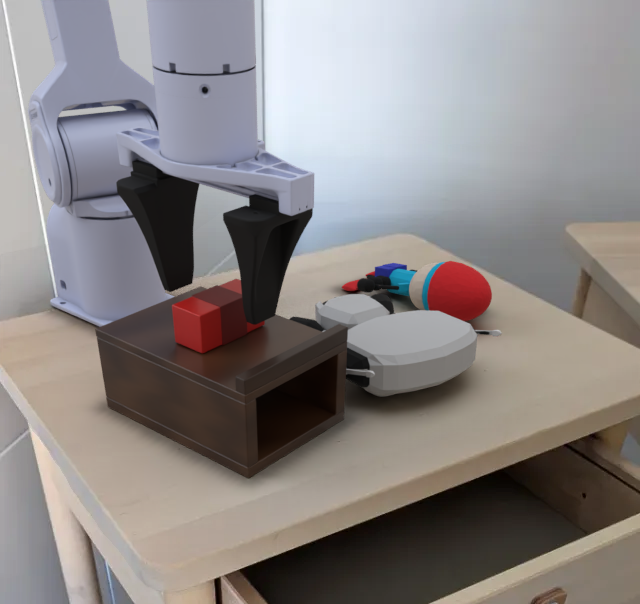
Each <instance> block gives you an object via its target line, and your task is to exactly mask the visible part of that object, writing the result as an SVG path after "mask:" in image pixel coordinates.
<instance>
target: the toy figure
mask: <svg viewBox="0 0 640 604" xmlns="http://www.w3.org/2000/svg"><path fill="white" fill-rule="evenodd" d="M364 276H365V277H366V278H365V277H362V278H359V279H354V280H351V281H347V282H346V283H344V284H343V285H342V286H341V289H343V290H344V291H347V292H355V291H358V290H359V291H360V292H364V293H368V294H369V293H372V292H374V291H376V292H377V291H381V290H385V291H388V293H390V294H396V295H400V296H406V297H409V298H410V300H411V303H412V304H413V305H414V307H415V308H417V310H427V311H440V312H443V313H445V314H447V315H450V316H452V317H455V318H457V319H460V320H462V321H464V322H469V321H471V320H475V319H477V318H478V317H480V316H481V315H483V314H484V313H485V312H486V311H487V309H489V307H490V305H491V303H492V300H493V292H492V287H491V285H490V284H489V282H488V280H487V278H486V277H485V276H484V275H483V274H482V273H481V272H479V271H478V270H477V269H475V268H474V267H473V266H469V265H468V264H465V263H463V262H457V261H453V260H449V261H441V262H439V261H438V262H430V263H427V264H425V265H423V266H421V267H420V268H419V269H418V270H417V269H408V265H407V264H402V263H397V262H389V263H385V264H382V265H377V266H374V270H373V271H370V272H368V273H366V274H365V275H364Z"/></svg>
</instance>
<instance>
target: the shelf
mask: <svg viewBox="0 0 640 604" xmlns="http://www.w3.org/2000/svg"><path fill="white" fill-rule="evenodd" d="M206 289H208V288H207V287H205V286H201V285H200V286H198V287H195V288H194V289H191V290H188V291H186V292H183V293H181V294H178V295H176V296H175V297H173V298H170V299H168V300H165V301H163V302H161V303H158V304H156V305H153V306H151V307H148V308H146V309H143V310H141V311H138V312H136V313H133V314H131V315H128V316H126V317H123V318H121V319H118V320H116V321H113V322H111V323H108V324H106V325H103V326H101V327H99V326H97V327H96V328H94V329H95V336H96V341H97V347H98V354H99V359H100V360H99V361H100V367H101V372H102V373H101V374H102V379H103V380H102V381H103V386H104V392H105V398H106V406H107V407H108V408H110V409H112V410H114V411H115V412H117V413H120V415H123V416H125V417H127V418H129V419H131V420H132V421H133V420H134V421H135V422H137V423H139V424H141V425H143V426H145V427H146V428H149V429H151V430H153V431H154V432H157V433H159V434H161V435H162V436H165V437H167V438H169V439H170V440H172V441H175V442H176V443H178V444H180V445H182V446H184V447H186V448H189V449H191V450H192V451H194V452H195V453H198V454H200V455H202V456H204V457H206V458H208V459H210V460H212V461H213V462H216V463H218V464H220V465H222V466H223V467H226V468H227V469H229V470H232V471H234V472H236V473H237V474H240V475H241V476H243V477H245V478H246V479H247V478H248V479H249V478H252V477H253V476H255V475H256V474H257V473H259V472H261V471H262V470H264V469H265V468H267V467H269V466H271V465H273V464H274V463H275V462H277V461H279V460H280V459H282V458H283V457H286V456H287V455H289V454H290V453H291V452H293V451H295V450H297V449H298V448H300V447H301V446H303V445H304V444H306V443H307V442H309V441H311V440H313V439H314V438H316V437H317V436H319V435H320V434H322V433H324V432H325V431H327V430H329V429H331V428H332V427H333V426H335V425H337V424H339V423H340V422H342V421H343V420H345V406H346V380H347V379H346V361H347V338H348V327H346V326H344V325H341V324H338V325H336V326H334V327H332V328H330V329H328V330H326V331H324V332H321V331H319V330H316V329H313V328H311V327H308V326H305V325H303V324H300V323H297V322H295V321H292V320H289V319H290V318H286V317H284V316H282V315H279V314H276V313H275V316H273V317H271V318H269V319H267V320H265V324H264V325H263V326H261V327H259V328H256V329H254V330H252V331H250V332H248V333H247V335H244V336H242V337H240V338H238V339H236V340H234V341H232V342H230V343H227V344H225V345H220V346H218V347H216V348H214V349H212V350H209V351H207V352H205V353H200V352H197V351H195V350H193V349H190V348H188V347H186V346H183V345H181V344H179V343H176V342H175V333H174V322H173V312H172V305H173V304H175V303H178V302H180V301H183V300H185V299H188V298H190V297H191V296H192V295H194V294H196V293H199V292H201V291H204V290H206Z"/></svg>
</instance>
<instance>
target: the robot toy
mask: <svg viewBox="0 0 640 604" xmlns="http://www.w3.org/2000/svg"><path fill="white" fill-rule="evenodd" d="M314 308H315V311H314V312H315V319H312V318H307V317H301V316H291V317H290V318H288V319H289V320H292V321H295V322H297V323H300V324H303V325H305V326H308V327H311V328H313V329H316V330H319V331H321V332H324V331H326V330H328V329H330V328H332V327H334V326H336V325H338V324H341V325H344V326H346V327H348V338H347V361H346V380H347V381H349V382H350V383H353V384H354V385H356V386H358V387H359V388H362V389H363V390H365V392H367V393H369V394H372V395H374V396H377V397H390V396H394V395H396V394H405V393H410V392H416V391H419V390H420V391H421V390H424V389H427V388H432V387H435V386H439V385H442V384H443V383H446V382H448V381H450V380H452V379H454V378H456V377H458V376H459V375H460V374H462V373H463V372H465V371H466V370H468V369H469V368H470V367H472V366H473V365H474V362H475V361H476V357H477V356H476V355H477V343H478V336H479V335H481V336H492V337H499V336H501V335H502V334H503V333H502V332H501V331H502V330H500V329H493V330H489V329H488V330H487V329H486V330H485V329H474V327H473V326H472V324H471V323H469V322H468V321H462V320H460V319H457V318H455V317H452V316H450V315H447V314H445V313H443V312H440V311H427V310H420V309H417V310H408V311H401V312H395V309H394V304H393V301H392V300H391V298H390V296H388V295H387V294H384V293H375V294H372V295H367V294H364V293H349V294H343V295H339V296H334V297H333V298H329V299H327V300H326V301H323V302H322V301H321V300H319V301H318V302H316V303H315V304H314Z"/></svg>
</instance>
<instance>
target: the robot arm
mask: <svg viewBox="0 0 640 604" xmlns="http://www.w3.org/2000/svg"><path fill="white" fill-rule="evenodd" d="M145 1H146V11H147V23H148V34H149V43H150V56H151V64H152V66H151V67H152V76H153V83H152V82H151V81H149V80H148V79H147V78H146V77H144V76H143V75H141V74H140V73H139V72H137V71H136V70H135V69H134V68H132V67H131V66H129V65H128V64H127V63H125V62H124V61H123V60H122V59H121V57H120V53H119V52H120V51H119V48H118V47H119V45H118V42H117V41H118V40H117V37H116V33H115V25H114V22H113V16H112V11H111V6H110V1H109V0H40V4H41V8H42V13H43V17H44V20H45V25H46V30H47V35H48V38H49V44H50V47H51V51H52V57H53V62H54V65H53V68H52V69H51V70H50V71H49V73H48V74H47V75H46V77H45V78H43V80H42V81H41V82H40V83H39V84H38V86H37V87H35V89H34V90H33V92H32V93H31V95H30V97H29V101H28V108H27V116H28V120H29V124H30V130H31V143H32V152H33V159H34V163H35V166H36V171H37V175H38V178H39V182H40V183H41V186H42V189H43V190H44V193H45V194H46V197H47V198H48V199H49V200H50V201H51V202H52V203H53V204H52V206H51V208H49V209H50V210H49V212H48V215H47V218H46V227H45V229H46V230H45V232H46V238H47V243H48V244H47V245H48V249H49V255H50V260H51V265H52V271H53V276H54V281H55V287H56V292H57V296H56V297H53V298H51V299H50V300H49V302H50V306H52V307H53V308H56V309H58V310H61V311H63V312H66V313H68V314H70V315H72V316H73V317H76V318H78V319H81V320H83V321H85V322H88V323H90V324H93V325H95V326H96V327H101V326H103V325H106V324H108V323H111V322H113V321H116V320H118V319H121V318H123V317H126V316H128V315H131V314H133V313H136V312H138V311H141V310H143V309H146V308H148V307H151V306H153V305H156V304H158V303H161V302H163V301H165V300H168V299H170V298H173V297H175V296H174V295H172V294H169V293H172V292H174V291H177V290H180V289H182V288H184V287H188V286H190V285H191V284H193V280H194V272H195V254H194V253H195V251H194V223H195V213H196V205H197V199H198V193H199V188H200V185H202V186H206V187H209V188H213V189H216V190H220V191H222V192H225V193H230V194H233V195H236V196H239V197H243V198H247V199H248V205H243V206H240V207H238V208H235V209H234V208H233V209H232V210H228V211H226V212H223V213H222V221H223V223H224V225H225V227H226V229H227V231H228V234H229V237H230V240H231V242H232V245H233V248H234V252H235V256H236V260H237V265H238V270H239V276H240V280H241V290H242V301H243V309H244V314H245V317H246V321H247V322H248V323H251V324H253V325H256V324H258V323H261V322H263V321H265V320H267V319H269V318H271V317H273V316H275V314H276V313H277V308H278V304H279V299H280V295H281V291H282V288H283V283H284V280H285V277H286V274H287V270H288V267H289V265H290V261H291V258H292V256H293V253H294V251H295V249H296V247H297V245H298V242H299V241H300V238H301V237H302V235H303V233H304V231H305V229H307V228H306V227H307V226H308V224H309V223H310V221H311V219H312V218H313V215H314V214H313V213H314V212H313V211H314V208H315V172H313V171H310V170H306V169H303V168H301V167H298V166H295V165H293V164H292V163H289V162H288V161H286V160H284V159H282V158H280V157H278V156H276V155H275V154H272V153H271V152H269V151H267V150H266V142H265V141H264V140H262V139H258V137H259V135H258V133H259V132H258V97H257V96H258V94H257V92H258V91H257V65H256V64H257V48H256V9H255V6H256V5H255V0H145ZM106 107H108V108H109V107H119V108H123V109H124V110H123V109H122V110H113V111H106V112H105V111H103V112H93V113H84V114H76V115H75V114H74V115H64V116H60V115H61V113H62V112H67V111H77V110H86V109H96V108H106ZM166 291H167V292H169V293H167V292H166Z"/></svg>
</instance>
